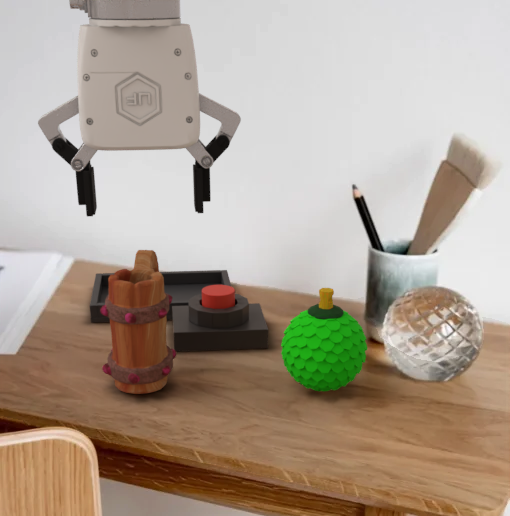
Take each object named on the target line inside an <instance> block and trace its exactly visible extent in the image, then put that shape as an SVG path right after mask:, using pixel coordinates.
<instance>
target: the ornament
mask: <svg viewBox="0 0 510 516" xmlns="http://www.w3.org/2000/svg"><path fill="white" fill-rule="evenodd" d="M334 294H335V291H334V288H331V287H321V288H320V289H318V295H319V302H318V303H316V304H314V305H312V306H310V307H309V308H308V309H306V310H303V311H301V312H299V314H298V315H296V316H294V317H293V318H292V319H291V320H290V321H289V323H290V324H288V326H287V327H286V328H285V330H284V331H283V335H284V336H283V337H282V338H281V343H280V344H281V345H280V347H281V352H280V354H281V357H282V358H281V359H282V360H283V366H284V367H285V369H286V371H287V372H288V373H289V375H290V377H291V378H293V380H294V381H295V382H296V383H299V384H300V385H301V386H303V387H304V388H306V389H307V390H309V389H311V390H313V391H315V392H329V391H338V390H339V389H340V388H342V387H344V388H345V387H346V386H347V385H348V384H349V383H351V382H353V381H355V378H356V376H357V375H359V374H360V373H361V371H362V369H363V364H364V363H365V364H366V358H367V354H366V351H368V344H367V342H366V341H367V337H366V335H365V331H364V330H363V327H362V325H360V323H359V321H358V320H356V318H354V317H353V316H352V315H351V314H349V312H348V311H346V310H344V309H342V308H341V307H340V306H338V305H336V304H334V301H333V296H334Z"/></svg>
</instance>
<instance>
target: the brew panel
mask: <svg viewBox="0 0 510 516" xmlns="http://www.w3.org/2000/svg"><path fill="white" fill-rule="evenodd" d="M172 319H173V320H172V335H173V336H172V337H173V349H174V350H175V351H176V353H178V352H202V351H203V352H204V351H227V350H231V351H232V350H256V349H257V350H258V349H260V350H261V349H269V327H268V325H267V322H266V318H265V315H264V312H263V309H262V306H261V304H260V302H257V303H256V302H255V303H250V302H249V300H248V298H247V297H245V296H244V295H241V294H239V293H235V306H233V307H229V308H225V309H213V308H207V307H204V306H202V294H199V295H195V296H194V297H192V298H191V299H189V300H188V306H172Z"/></svg>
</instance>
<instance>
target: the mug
mask: <svg viewBox="0 0 510 516" xmlns="http://www.w3.org/2000/svg"><path fill="white" fill-rule="evenodd" d="M159 267H160V266H159V262H158V256H157V252H155V250H154V249H138V250H137V251H136V253H135V257H134V263H133V268H132V269H131V270H129V269H127V268H122V269H119V270H116V271H115V272H114V273H115V274H114V275H110V276H109V278H108V281H109V295H108V296H107V298H106V300H105V305H103V306H102V307H101V309H100V312H101V314H102V315H104V316H107V317H108V318H110V322H109V326H110V334H111V349H110V352H109V353H108V355H107V358H106V360H107V362H106V363H104V364H103V365H102V366H101V370H102V372H103V373H104V374H105V375H107V376H110V377H111V378H112V380H113V379H114V386H115V388H117V389H118V390H119V391H121V392H123V393H126V394H133V395H143V394H150V393H154V392H157V391H160V390H162V388H164V387H165V386H166V384H167V382H168V379H169V378H168V377H169V375H170V373H171V372H172V371H173V368H174V359H175V358H176V357H177V352H176V351H175V350H174V348H171V347H170V346H168V345H167V324H168V320H167V318H166V314H167V313H168V311H169V305H170V304H171V302H172V296H170V295H169V294H167V293H165V292H164V277H163V275H162V274H161V273H160V272H161V271H160V269H159Z"/></svg>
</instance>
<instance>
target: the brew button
mask: <svg viewBox="0 0 510 516" xmlns="http://www.w3.org/2000/svg"><path fill="white" fill-rule="evenodd" d="M235 294H236V289H235V288H234V287H233V286H232V285H231V286H227V285H210V286H206V287H204V288H203V289H202V306H204V307H207V308H213V309H225V308H229V307H233V306H235Z"/></svg>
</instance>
